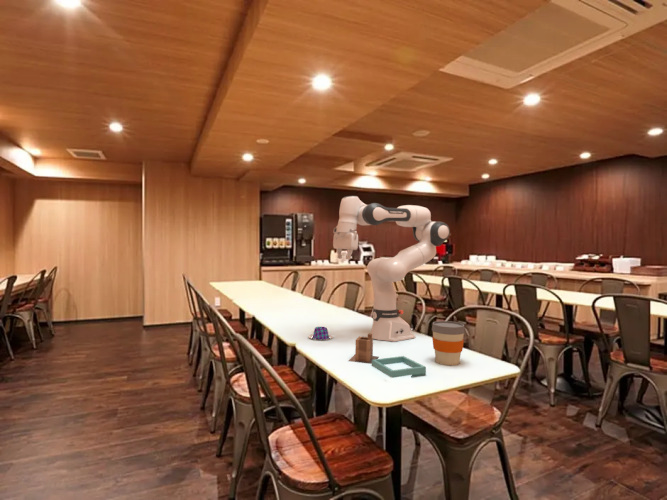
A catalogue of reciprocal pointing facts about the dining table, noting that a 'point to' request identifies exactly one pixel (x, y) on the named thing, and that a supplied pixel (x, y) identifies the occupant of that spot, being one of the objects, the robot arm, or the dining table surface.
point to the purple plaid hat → (320, 333)
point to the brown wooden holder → (364, 348)
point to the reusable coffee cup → (448, 341)
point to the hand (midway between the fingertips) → (343, 259)
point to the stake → (363, 361)
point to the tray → (415, 371)
